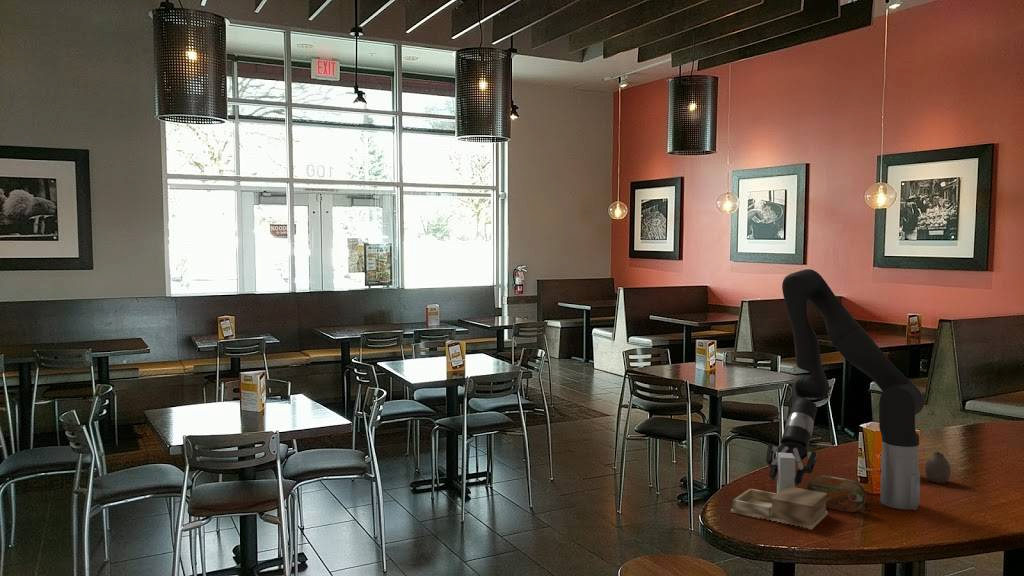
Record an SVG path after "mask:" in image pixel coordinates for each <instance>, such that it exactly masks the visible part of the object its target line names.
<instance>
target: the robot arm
mask: <svg viewBox="0 0 1024 576" xmlns="http://www.w3.org/2000/svg"><path fill="white" fill-rule="evenodd" d="M781 286H782V288H781V289H782V291H781V292H782V296H783V299H784V303H785V307H786V311H787V315H788V319H789V322H790V326H791V330H792V335H793V341H794V342H793V343H794V353H795V364H796V367H798V369H800V370H804V371H806V372H809V373H810V374H811V375H808V374H807V375H806V374H798V375H796V376H795V377H794V378H793V379H792V383H791V386H792V388H791V389H792V404H791V405H792V406H791V407H790V408H791V409H790V412H789V416H788V418H787V420H786V423H785V427H784V430H783V434H782V436H781V440H780V443H779V445H778V446H774V445H772V444H768V445H767V450H766V451H767V452H766V457H765V462H766V465H767V466H768V467H770V469H769V473H768V475H769V478H770V480H771V481H775V480H776V478H777V463H778V454H777V455H776V456H775V458H774V455H775V454H776V453H778V452H780V453H792V454H793V455H794V457H795V458H796V465H797V468H798V469H797V470H796V472H795V486H799V485H800V484H802V482H803V477H804V475H805V474H808V475H809V474H812V472H813V470H814V468H815V465H816V464H817V461H818V458H819V457H818V454H817V452H816V451H814V450H813V451H808V449H809V446H810V443H811V439H812V436H813V430H814V423H815V420H816V416H817V411H818V407H817V404H816V403H815V402H813V401H812V400H825V399H826V398H827V397H828V395H829V394H830V384H829V380H828V378H827V375H826V373H825V371H824V368H823V365H822V361H821V359H822V358H821V350H820V349H821V348H820V341H819V338H818V335H817V333H816V332H815V330H814V328H813V326H812V324H811V323H810V320H809V317H808V311H807V310H808V309H807V306H808V305H807V303H808V302H809V301H810V302H811V303H812V304H813V305H814V307H815V308H816V309H817V310H818V312H819V313H820V314H821V316H822V318H823V321H824V325H825V328H826V332H827V335H828V338H829V341H830V343H831V344H832V345H833V346H834V347H835V349H836V350H837V351H838V353H840V355H841V356H842V357H843V358H844V360H846V361H847V362H849V364H851V365H852V366H853V367H855V368H856V369H857V370H860V372H862V373H864V374H865V375H866V376H867V377H869V378H870V379H871V380H872V381H873V382H874V383H875V384H876V385H877V386H878V387H879V389H880V390H881V394H880V397H879V401H878V423H879V424H878V426H879V430H880V432H881V435H882V453H881V473H880V493H879V494H880V499H879V500H880V502H879V503H881V504H882V505H884V506H886V507H888V508H892V509H897V510H913V511H916V510H917V509H918V507H919V506H920V503H921V502H920V501H921V500H920V499H921V497H920V495H921V470H920V469H919V467H920V466H919V465H920V435H919V433H918V432H917V431H916V415H918V414H920V413H921V412H922V410H923V409H924V406H925V398H924V395H923V392H922V391H921V390H920V389H919V387H917V385H915V384H914V383H913V382H912V381H911V380H910V379H909V378H908V377H906V376H905V374H904V373H902V371H900V370H899V369H898V368H897V366H895V365H894V364H893V362H892V361H891V360H890V359H889V357H887V355H886V354H885V353H884V351H882V349H881V347H879V346H878V344H877V343H876V342H875V341H874V340H873V338H872V337H871V335H870V334H868V332H867V331H866V330H865V329H864V328H863V327H862V326H861V324H860V323H859V322H858V321H857V320H856V319H855V318H854V317H853V316H852V314H851V313H850V312H849V310H847V309H846V307H845V306H844V304H842V303H841V301H840V300H839V299H838V298H837V295H836V294H835V293H834V292H833V290H832V289H831V287H830V286H829V285H828V283H827V282H826V280H825V279H824V278H823V276H822V275H821V274H820V273H818V271H816V270H815V269H810V268H807V269H802V270H799V271H795V272H791V273H790V274H789V273H788V274H787V275H785V277H784V278H783V280H782V284H781ZM810 399H811V400H810ZM806 458H808V460H807V463H806V465H805V466H804V465H803V462H802V461H803V460H804V459H806Z"/></svg>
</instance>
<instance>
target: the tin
mask: <svg viewBox="0 0 1024 576" xmlns="http://www.w3.org/2000/svg"><path fill="white" fill-rule="evenodd" d="M807 490H812V491H817V492H823V493H827V496H826V509H832V510H837V511H843V512H847V513H854V512H855V513H856V512H859V510H861V509H862V508H863V507H864V506H865V504H866V502H867V492H866V490H865V488H864V486H863V485H861V483H859V482H858V481H856V480H853V479H848V478H842V477H835V476H830V475H824V474H822V475H817V476H814V477H812V478H811V479H810V480H809V482H808V484H807Z"/></svg>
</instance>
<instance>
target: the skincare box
mask: <svg viewBox="0 0 1024 576" xmlns="http://www.w3.org/2000/svg"><path fill="white" fill-rule="evenodd" d="M777 455H778V463H777V474H776V494H778V493H779V492H780V491H782V490H783V489H784V488H785V487H787V486H790V487H796V484H795V477H796V468H797V467H796V465H797V463H796V458H795V457H794V455H793V454H792V453H780V452H779V451H777Z"/></svg>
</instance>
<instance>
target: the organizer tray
mask: <svg viewBox="0 0 1024 576" xmlns="http://www.w3.org/2000/svg"><path fill="white" fill-rule="evenodd" d="M826 496H827V493H823V492H817V491H812V490H807V489H805V488H799V487H797V486H795V487H790V486H787V487H785V488H784V489H783V490H782V491H780V492H779V493H778V494H777V492H776V493H775V492H772V491H771V492H770V491H764V490H760V489H756V488H755V489H754V488H748V489H746V490H744V491H743V492H741V494H739V495H737V496H735V498H733V499H732V508H731V509H730V513H732V514H737V515H741V516H746V517H750V516H751V517H750V518H755V517H756V519H760V518H761V520H764V519H766V521H769V520H771V521H770V522H773V521H777V522H776V523H778V522H782V523H781V524H783V523H786V524H785V525H787V524H791V525H790V526H792V525H795V526H794V527H797V526H800V527H799V528H801V527H803V528H802V529H806V528H808V529H807V530H813V529H814V528H815V527H816V526H817V525H818V524H819V523H821V521H822V520H823V519H824V518H825V517H827V515H828V511H827V507H826Z"/></svg>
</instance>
